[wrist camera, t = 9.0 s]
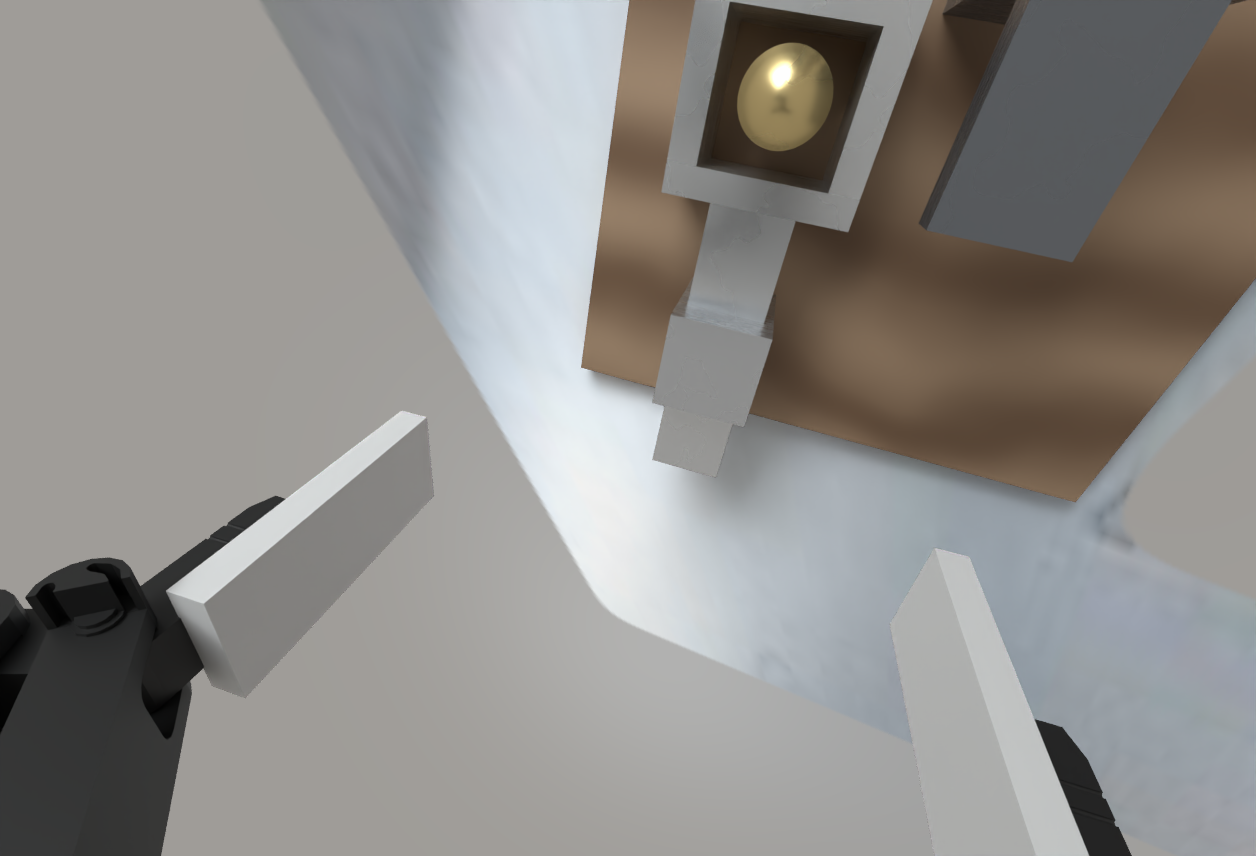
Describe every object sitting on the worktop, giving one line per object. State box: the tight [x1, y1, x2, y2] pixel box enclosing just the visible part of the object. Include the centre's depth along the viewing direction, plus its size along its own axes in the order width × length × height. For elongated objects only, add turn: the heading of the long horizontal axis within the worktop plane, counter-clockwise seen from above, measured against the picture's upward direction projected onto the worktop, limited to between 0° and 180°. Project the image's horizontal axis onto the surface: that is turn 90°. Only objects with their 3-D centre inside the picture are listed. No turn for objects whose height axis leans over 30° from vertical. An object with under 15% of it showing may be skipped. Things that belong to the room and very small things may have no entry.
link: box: [652, 0, 933, 478], centre depth 22 cm, size 19×7×6 cm, turn 170°
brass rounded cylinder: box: [737, 43, 833, 151], centre depth 19 cm, size 3×3×8 cm
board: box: [581, 0, 1256, 502], centre depth 24 cm, size 20×26×1 cm
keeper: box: [918, 0, 1247, 262], centre depth 17 cm, size 8×5×9 cm, turn 170°
